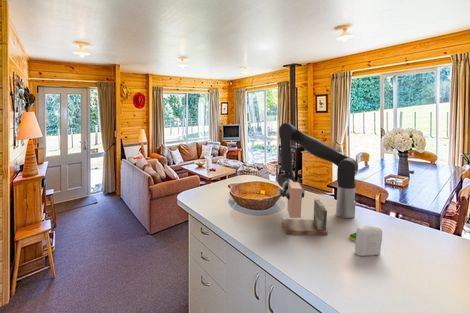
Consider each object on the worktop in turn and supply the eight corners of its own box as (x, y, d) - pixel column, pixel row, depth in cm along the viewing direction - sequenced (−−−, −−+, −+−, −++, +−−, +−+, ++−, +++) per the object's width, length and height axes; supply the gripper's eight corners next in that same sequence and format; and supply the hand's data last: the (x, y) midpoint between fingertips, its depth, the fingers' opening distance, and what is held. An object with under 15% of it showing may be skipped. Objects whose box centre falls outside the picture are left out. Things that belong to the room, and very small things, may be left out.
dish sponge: (381, 239, 123) (382, 234, 123) (362, 245, 117) (362, 240, 116) (368, 233, 129) (368, 228, 129) (348, 239, 123) (349, 234, 123)
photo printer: (375, 250, 112) (377, 222, 110) (382, 255, 108) (384, 227, 106) (353, 251, 111) (355, 224, 109) (359, 257, 107) (361, 228, 105)
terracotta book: (296, 209, 138) (298, 182, 135) (300, 218, 127) (302, 188, 125) (287, 209, 138) (288, 182, 136) (290, 217, 128) (291, 188, 125)
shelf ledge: (319, 223, 140) (321, 198, 137) (327, 235, 126) (329, 207, 124) (282, 222, 141) (283, 197, 139) (285, 234, 127) (286, 206, 125)
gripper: (277, 181, 147) (280, 190, 130) (303, 181, 146) (309, 191, 129) (276, 194, 148) (280, 204, 132) (302, 194, 147) (308, 205, 131)
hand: (294, 197), depth 131 cm, fingers closed on terracotta book, 5 cm apart
